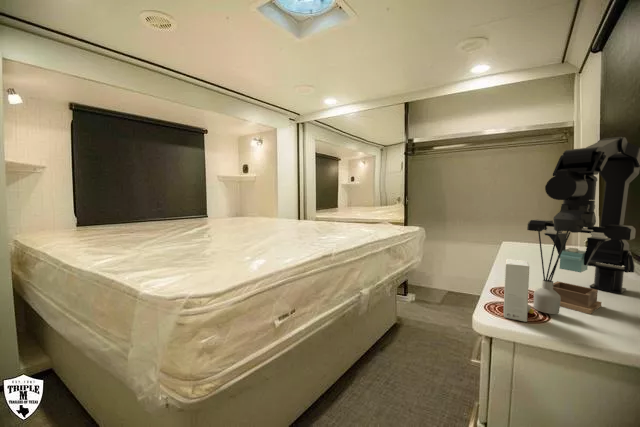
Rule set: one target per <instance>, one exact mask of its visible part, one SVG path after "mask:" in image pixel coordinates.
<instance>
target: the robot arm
mask: <svg viewBox="0 0 640 427" xmlns="http://www.w3.org/2000/svg"><path fill="white" fill-rule="evenodd" d="M556 163H557V164H556V166H555V168H554V169H553V172H552V177H551V178H550V179H549V180H548V181H547V182H546V184H545V185H544V186H545V187H544V190H545V193H546V195H547V196H548V197H550V198H551V199H554V200H557V201H562V203H561V206H560V210H559V211H558V212H557V213H556V214H555V215H554V216H553V220H551V219H550V220H549V219H539V218H538V219H531V220H529V221H528V223H527V227H526V228H527V231H530V232H531V231H532V232H538V228H539V229H540V233H541V232H543V231H545V232H544V233H543V234H544V236H547V237H548V238H550V239H551V241H552V243H554V242H555V237H556V233H557V229H558V226H560V227H559V231H558V236H557V240H556V244H555V249H556V252H557V255H559V253H560V250H561V247H562V244H563V241H564V238H565V235H566V232H567V230H568V228H569V231H568V232H571V233H574V234H575V233H582V234H590V237H589V236H588V237H587V238H586V239H587V240H586V241H587V243H586V244H587V245H586V248H585V249H586V250H585V251H586V253H585V257H584V265H588V267H594V268H595V270H594V281H593V283H592V284H590V285H589V288H592V289H596V290H601V291H604V292H609V293H614V294H620V295H621V294H624V293H625V292H626V291H627V288H626V287H623V285H624V284H623V282H624V273H625V274H626V273H627V274H628V273H635V267H636V266H635V260H634V256H633V255H632V252H631V250H630V243H629V242H628V241H631V240H634V239H635V238H636V232H637V230H636V228H635V227H634V226H633V225H624V223H625V219H626V218H625V217H626V209H627V204H628V202H627V201H628V194H629V186H630V183H632V181H634V180H635V179H636V178H637V177H638V176H639V174H640V146H637V145H635V144H633V143H630V142H629V141H628V140H627V138H626V137H624V136H623V137H622V136H616V137H609V138H608V137H607V138H602V139H599V140H598V141H597V142H595V143H592V144H589V145H588V146H586V147H582V148H580V147H579V148H570V149H566V150H565V151H563V153H562V154H561V155H560V157H559V159H558V162H556ZM598 174H599V175H600V177H601V178H602V179H603V181H604V182H605V186H604V194H603V201H602V210H601V219H600V223H599V225H600V226H596V223H597V220H596V219H597V216H596V213H595V209H596V193H597V182H598V177H597V175H598ZM566 244H567V243H566ZM566 244H565V246H564V249H563V250H566V248H567V246H566Z"/></svg>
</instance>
